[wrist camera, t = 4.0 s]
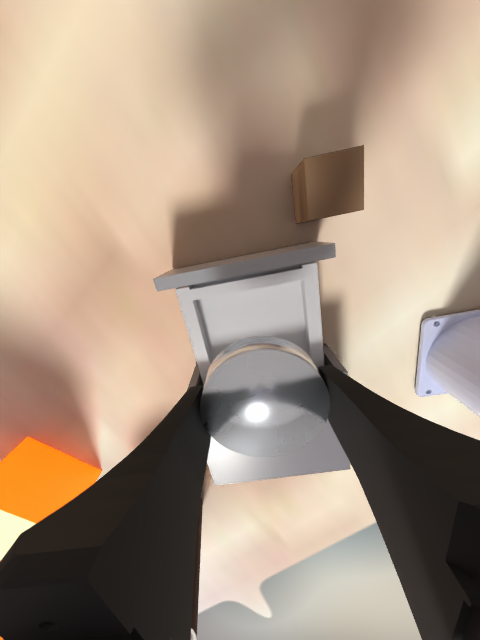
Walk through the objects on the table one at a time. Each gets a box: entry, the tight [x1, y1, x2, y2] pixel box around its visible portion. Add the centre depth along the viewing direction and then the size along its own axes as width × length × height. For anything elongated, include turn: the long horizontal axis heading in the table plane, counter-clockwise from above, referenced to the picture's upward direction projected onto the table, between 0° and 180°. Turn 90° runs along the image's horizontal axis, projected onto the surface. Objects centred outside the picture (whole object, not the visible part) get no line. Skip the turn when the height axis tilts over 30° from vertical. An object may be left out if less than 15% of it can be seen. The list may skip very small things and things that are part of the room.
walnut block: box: [291, 145, 364, 224], centre depth 15 cm, size 3×3×4 cm
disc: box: [200, 336, 330, 457], centre depth 10 cm, size 6×6×2 cm
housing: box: [187, 344, 350, 486], centre depth 20 cm, size 12×10×4 cm
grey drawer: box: [153, 242, 336, 385], centre depth 17 cm, size 11×10×4 cm
